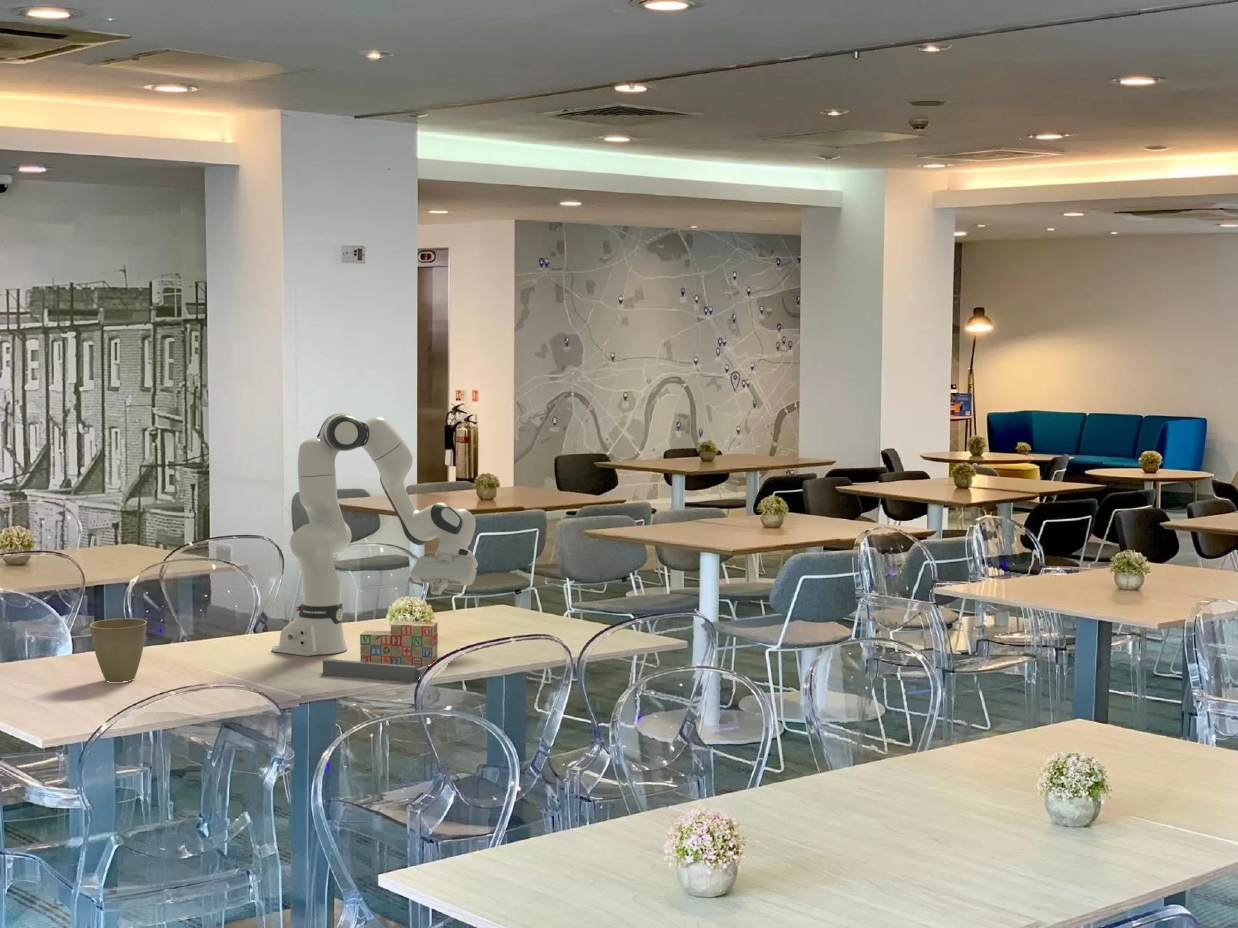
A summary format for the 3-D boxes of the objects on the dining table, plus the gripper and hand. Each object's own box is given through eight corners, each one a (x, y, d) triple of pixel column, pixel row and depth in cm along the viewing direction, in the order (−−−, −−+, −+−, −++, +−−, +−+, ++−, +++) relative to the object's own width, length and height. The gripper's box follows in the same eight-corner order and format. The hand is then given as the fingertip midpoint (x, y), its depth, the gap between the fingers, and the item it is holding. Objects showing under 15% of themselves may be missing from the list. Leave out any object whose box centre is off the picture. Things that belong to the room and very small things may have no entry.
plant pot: (83, 679, 423) (81, 622, 422) (136, 672, 432) (135, 616, 431) (102, 689, 412) (100, 629, 410) (156, 681, 421) (155, 623, 419)
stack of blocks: (359, 666, 442) (359, 623, 441) (366, 661, 448) (365, 619, 447) (432, 668, 439) (432, 625, 438) (438, 663, 445) (437, 621, 444)
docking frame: (319, 674, 430) (318, 659, 430) (332, 669, 437) (331, 655, 436) (416, 682, 420) (416, 667, 419) (428, 677, 426) (428, 662, 426)
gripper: (415, 548, 472) (400, 585, 464) (476, 551, 465) (462, 588, 457) (422, 561, 477) (408, 597, 468) (482, 564, 470) (469, 601, 461)
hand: (435, 593), depth 462 cm, fingers closed
